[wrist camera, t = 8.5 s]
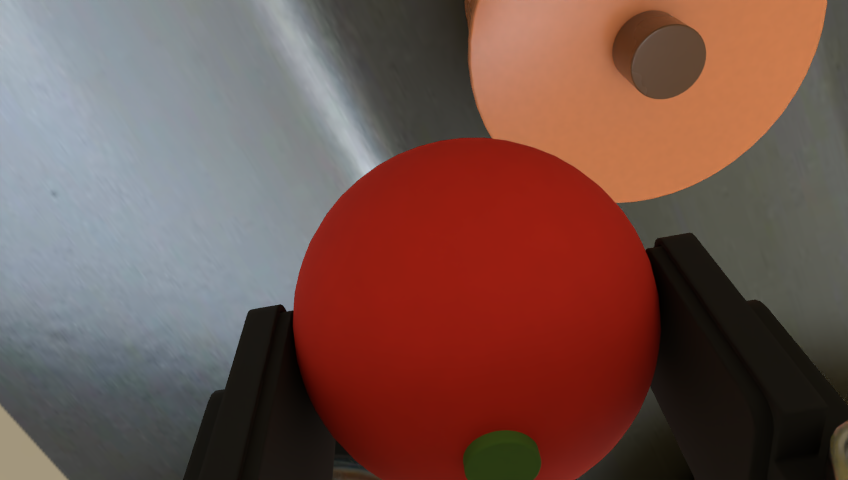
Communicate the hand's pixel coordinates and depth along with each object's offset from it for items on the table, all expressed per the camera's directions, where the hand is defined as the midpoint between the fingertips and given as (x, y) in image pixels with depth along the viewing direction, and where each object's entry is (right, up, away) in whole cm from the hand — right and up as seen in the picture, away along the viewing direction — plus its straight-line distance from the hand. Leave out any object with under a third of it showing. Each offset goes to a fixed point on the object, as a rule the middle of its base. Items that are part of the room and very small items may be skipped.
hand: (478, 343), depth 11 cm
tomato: (0, +2, +2) cm, 3 cm away
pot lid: (+7, +9, +11) cm, 16 cm away
